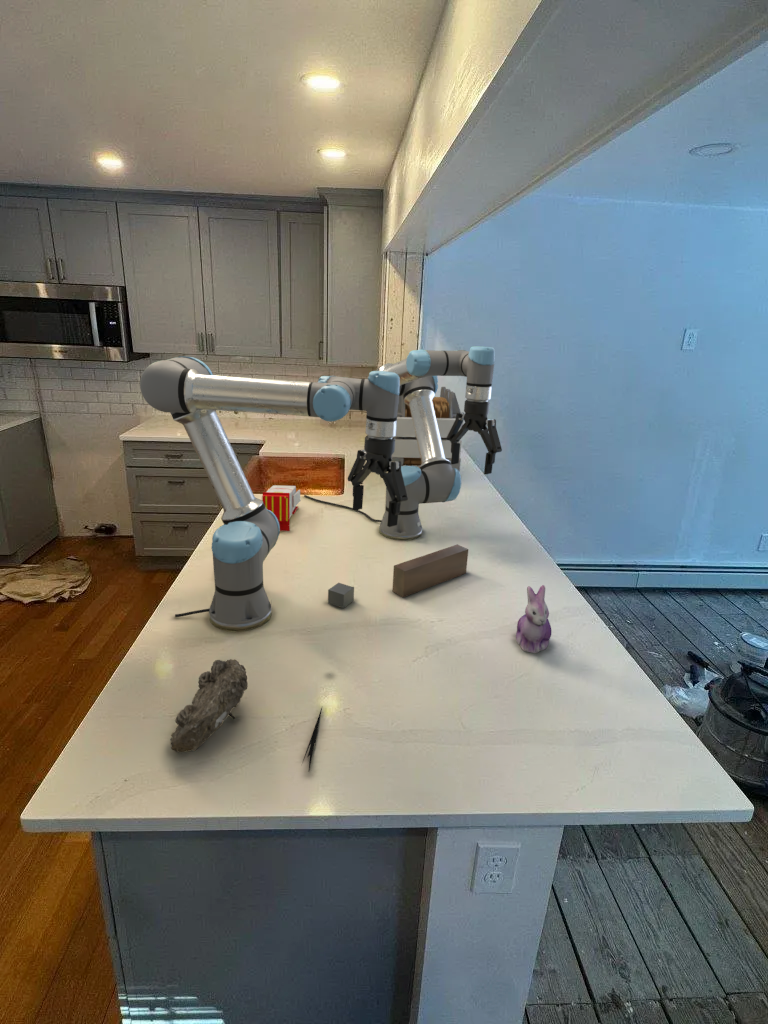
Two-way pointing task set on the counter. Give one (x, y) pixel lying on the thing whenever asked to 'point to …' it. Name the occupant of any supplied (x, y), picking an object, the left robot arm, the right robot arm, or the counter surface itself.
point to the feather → (313, 740)
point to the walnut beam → (429, 570)
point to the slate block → (341, 595)
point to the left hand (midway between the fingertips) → (374, 517)
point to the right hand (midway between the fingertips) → (470, 468)
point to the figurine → (534, 623)
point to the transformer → (405, 431)
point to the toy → (282, 503)
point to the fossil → (210, 704)
